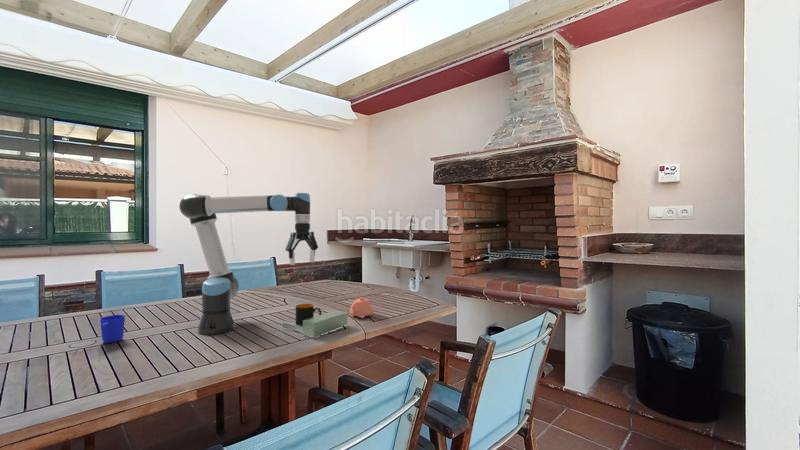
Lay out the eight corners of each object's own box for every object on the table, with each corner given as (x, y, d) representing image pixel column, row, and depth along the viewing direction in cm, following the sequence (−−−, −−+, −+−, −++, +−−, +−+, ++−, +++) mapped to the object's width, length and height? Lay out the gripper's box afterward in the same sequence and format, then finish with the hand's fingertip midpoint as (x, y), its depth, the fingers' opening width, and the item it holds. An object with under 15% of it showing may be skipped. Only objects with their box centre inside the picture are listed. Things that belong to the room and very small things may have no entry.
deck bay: (278, 329, 171) (278, 315, 170) (313, 318, 189) (313, 305, 189) (313, 339, 158) (314, 323, 158) (347, 326, 177) (347, 312, 177)
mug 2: (322, 328, 174) (322, 306, 174) (296, 330, 170) (296, 308, 169) (319, 323, 182) (319, 302, 182) (294, 325, 177) (294, 304, 177)
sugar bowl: (377, 315, 197) (377, 296, 197) (361, 321, 186) (361, 301, 185) (359, 312, 204) (359, 294, 204) (343, 317, 192) (343, 298, 192)
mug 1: (90, 348, 145) (90, 323, 145) (106, 338, 157) (106, 315, 156) (115, 346, 147) (114, 322, 147) (128, 336, 159) (128, 314, 159)
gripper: (288, 223, 177) (288, 266, 178) (324, 222, 198) (324, 261, 199) (278, 222, 181) (278, 265, 182) (314, 222, 202) (314, 260, 203)
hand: (302, 263), depth 190 cm, fingers open, 13 cm apart
